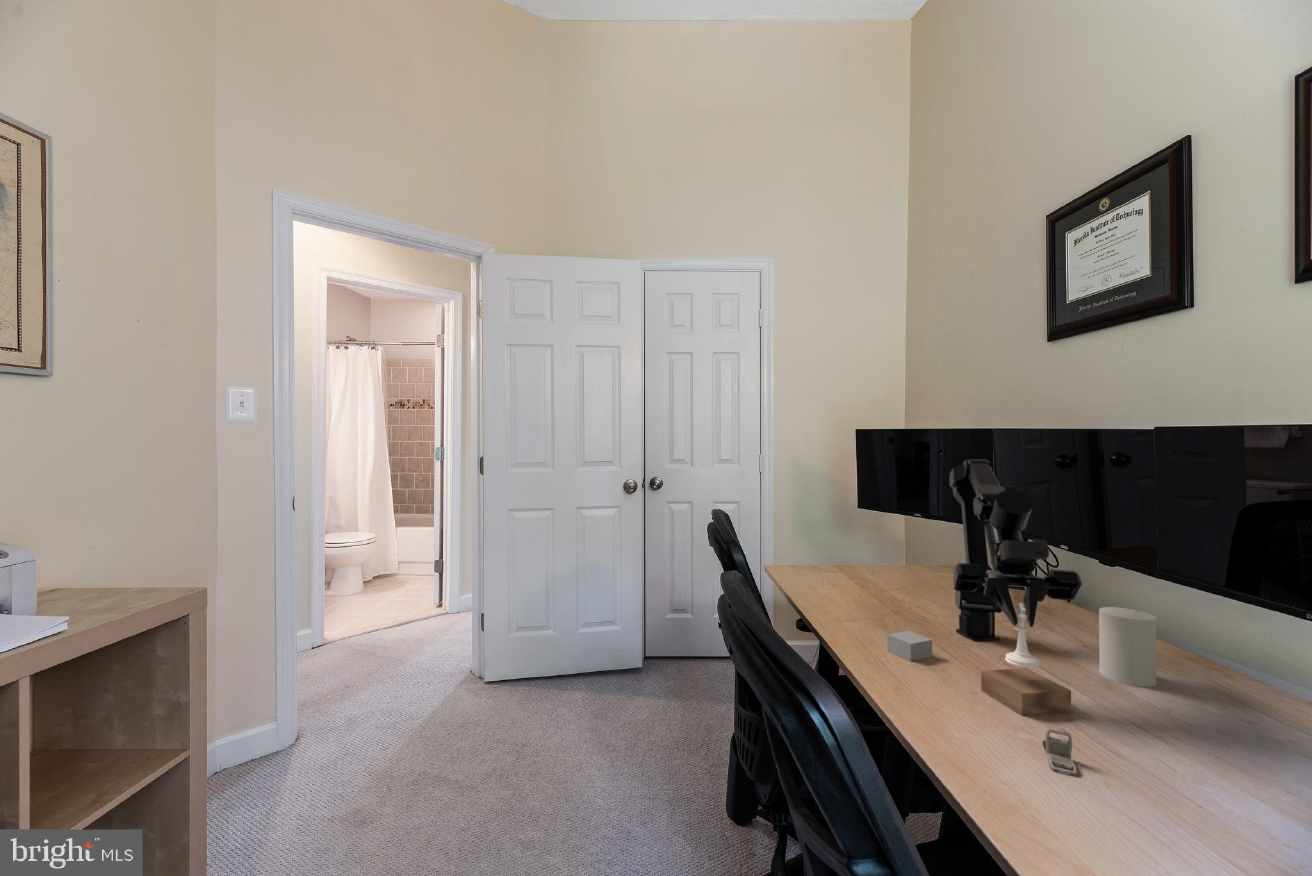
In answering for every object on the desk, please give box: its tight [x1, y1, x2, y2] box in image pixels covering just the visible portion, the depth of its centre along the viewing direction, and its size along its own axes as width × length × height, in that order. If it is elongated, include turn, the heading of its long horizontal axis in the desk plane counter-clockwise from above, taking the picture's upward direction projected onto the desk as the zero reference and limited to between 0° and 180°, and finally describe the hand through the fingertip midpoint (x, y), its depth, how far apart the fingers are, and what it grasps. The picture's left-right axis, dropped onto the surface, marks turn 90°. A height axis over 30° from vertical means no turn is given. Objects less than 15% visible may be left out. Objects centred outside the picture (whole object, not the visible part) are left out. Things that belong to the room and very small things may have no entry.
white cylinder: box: [1098, 606, 1157, 688], centre depth 103 cm, size 8×8×12 cm
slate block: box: [886, 630, 933, 662], centre depth 114 cm, size 6×6×4 cm
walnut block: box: [980, 667, 1072, 716], centre depth 94 cm, size 9×9×4 cm
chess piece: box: [1005, 602, 1041, 669], centre depth 94 cm, size 5×5×10 cm
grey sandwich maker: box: [1041, 727, 1078, 777], centre depth 76 cm, size 8×3×4 cm, turn 152°
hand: (1023, 625), depth 93 cm, fingers closed on chess piece
